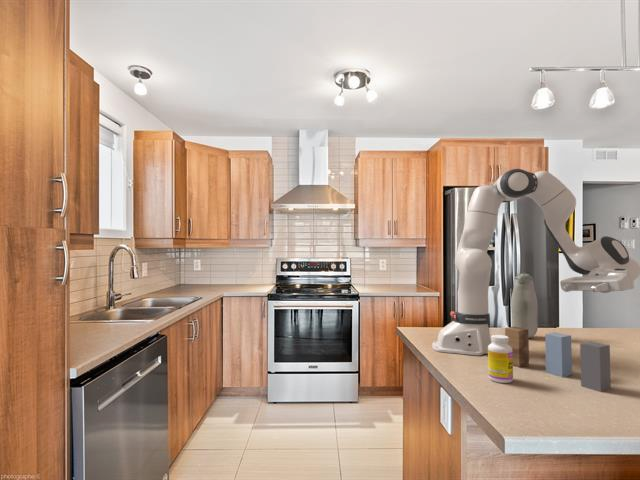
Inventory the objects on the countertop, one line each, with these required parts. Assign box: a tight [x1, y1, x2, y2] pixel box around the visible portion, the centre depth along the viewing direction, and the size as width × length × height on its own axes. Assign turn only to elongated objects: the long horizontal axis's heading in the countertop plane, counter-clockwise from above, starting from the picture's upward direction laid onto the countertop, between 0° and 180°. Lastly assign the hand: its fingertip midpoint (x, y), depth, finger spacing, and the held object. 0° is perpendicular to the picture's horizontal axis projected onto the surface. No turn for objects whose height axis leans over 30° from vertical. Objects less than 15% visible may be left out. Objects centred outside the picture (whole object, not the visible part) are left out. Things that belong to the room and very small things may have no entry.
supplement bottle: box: [487, 334, 514, 384], centre depth 113 cm, size 7×7×13 cm
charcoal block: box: [579, 341, 612, 393], centre depth 107 cm, size 5×5×12 cm
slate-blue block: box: [544, 332, 573, 378], centre depth 119 cm, size 5×5×12 cm
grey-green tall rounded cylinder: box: [510, 273, 539, 339], centre depth 167 cm, size 10×10×28 cm
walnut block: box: [504, 326, 530, 369], centre depth 128 cm, size 5×5×12 cm
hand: (579, 289), depth 127 cm, fingers open, 8 cm apart
